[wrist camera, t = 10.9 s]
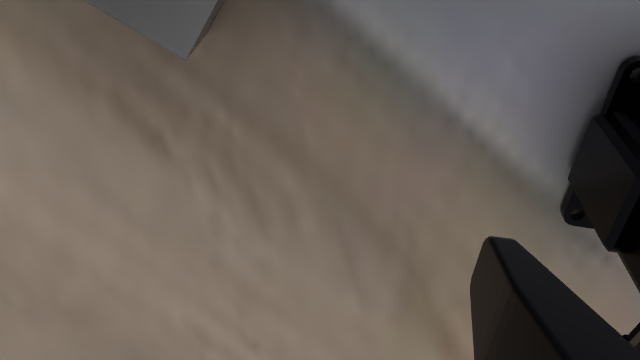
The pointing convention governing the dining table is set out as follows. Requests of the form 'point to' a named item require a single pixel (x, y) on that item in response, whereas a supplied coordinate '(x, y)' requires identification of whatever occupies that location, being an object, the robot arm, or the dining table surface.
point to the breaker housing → (165, 20)
